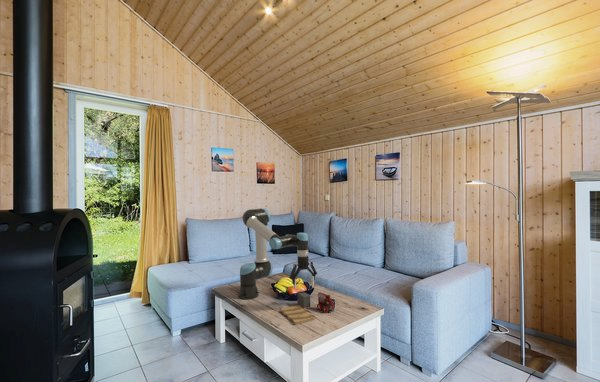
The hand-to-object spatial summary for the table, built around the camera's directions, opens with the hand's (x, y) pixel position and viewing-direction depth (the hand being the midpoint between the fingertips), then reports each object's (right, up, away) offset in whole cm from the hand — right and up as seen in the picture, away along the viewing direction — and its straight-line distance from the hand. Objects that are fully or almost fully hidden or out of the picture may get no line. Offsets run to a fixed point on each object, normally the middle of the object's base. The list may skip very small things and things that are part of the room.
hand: (303, 287), depth 197 cm
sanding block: (0, -13, 0) cm, 13 cm away
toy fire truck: (+14, -13, -7) cm, 20 cm away
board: (-5, -13, -15) cm, 20 cm away
